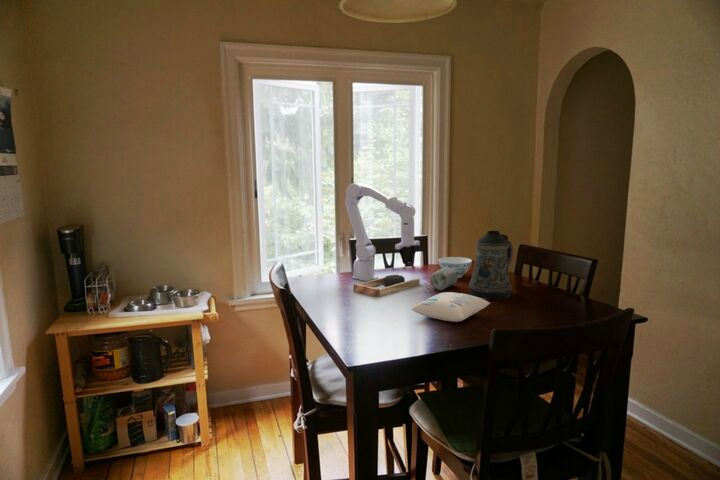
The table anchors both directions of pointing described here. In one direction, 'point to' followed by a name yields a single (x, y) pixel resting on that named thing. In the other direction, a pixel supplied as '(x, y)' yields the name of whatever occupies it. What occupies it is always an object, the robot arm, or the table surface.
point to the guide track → (369, 290)
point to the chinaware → (456, 264)
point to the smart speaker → (393, 280)
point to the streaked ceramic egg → (443, 278)
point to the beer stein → (492, 267)
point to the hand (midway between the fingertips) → (407, 263)
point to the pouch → (450, 306)
